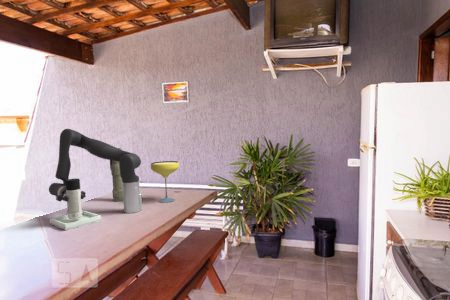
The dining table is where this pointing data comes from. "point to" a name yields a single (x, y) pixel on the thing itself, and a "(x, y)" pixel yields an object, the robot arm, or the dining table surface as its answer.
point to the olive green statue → (116, 181)
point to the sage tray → (75, 220)
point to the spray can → (74, 198)
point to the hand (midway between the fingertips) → (75, 198)
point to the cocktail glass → (165, 173)
